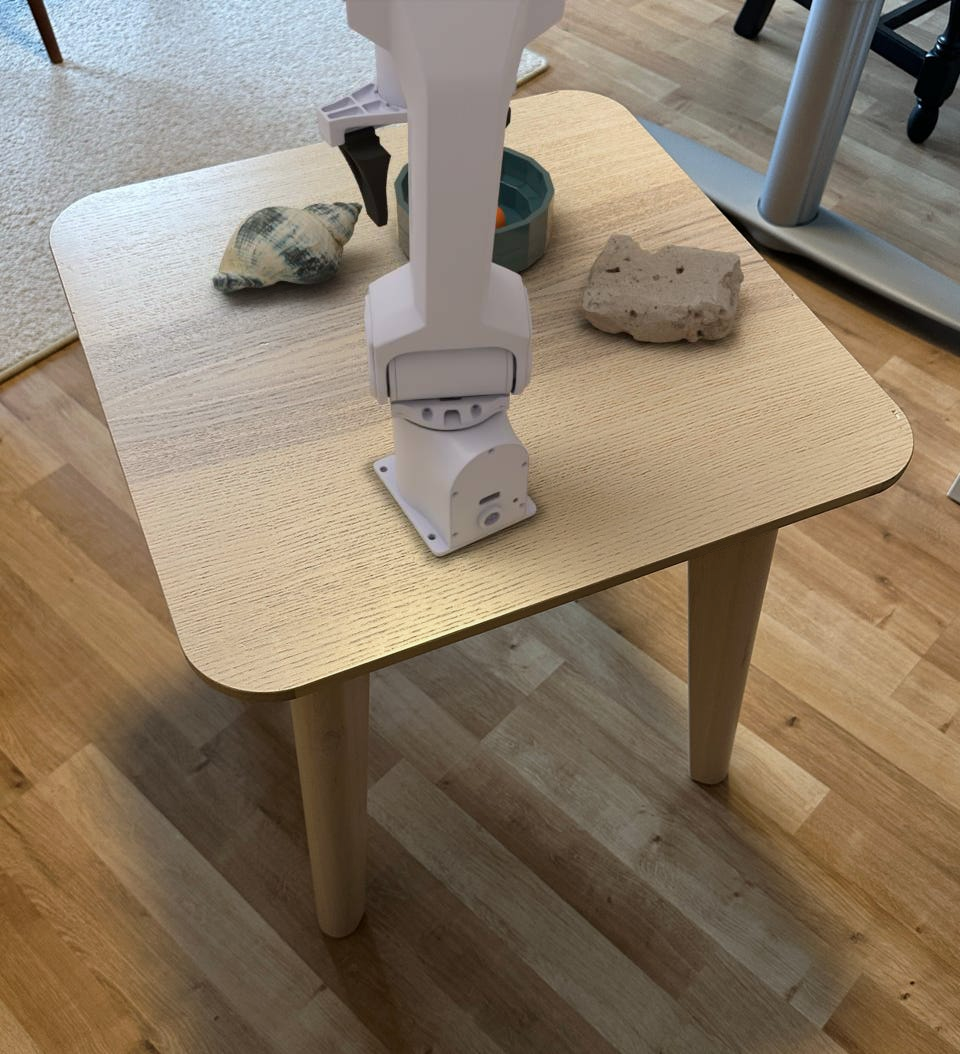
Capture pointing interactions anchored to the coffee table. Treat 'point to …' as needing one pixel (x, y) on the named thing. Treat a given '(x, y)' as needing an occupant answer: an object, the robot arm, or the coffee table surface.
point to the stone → (662, 291)
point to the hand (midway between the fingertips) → (422, 204)
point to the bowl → (521, 202)
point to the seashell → (287, 246)
